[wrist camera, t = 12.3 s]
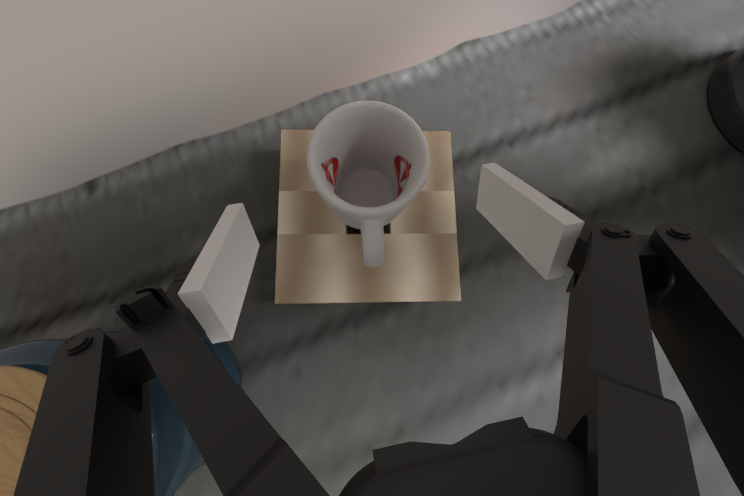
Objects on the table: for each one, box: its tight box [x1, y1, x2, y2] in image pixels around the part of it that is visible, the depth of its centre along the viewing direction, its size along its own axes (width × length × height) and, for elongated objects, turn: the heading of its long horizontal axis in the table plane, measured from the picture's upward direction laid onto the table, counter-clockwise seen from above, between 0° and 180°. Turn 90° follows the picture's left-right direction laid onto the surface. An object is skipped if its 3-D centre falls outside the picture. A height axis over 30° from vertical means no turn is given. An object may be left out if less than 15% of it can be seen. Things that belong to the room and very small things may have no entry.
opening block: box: [275, 130, 461, 304], centre depth 28 cm, size 16×16×4 cm
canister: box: [0, 331, 242, 496], centre depth 18 cm, size 13×13×18 cm
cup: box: [307, 100, 430, 267], centre depth 22 cm, size 11×8×8 cm
